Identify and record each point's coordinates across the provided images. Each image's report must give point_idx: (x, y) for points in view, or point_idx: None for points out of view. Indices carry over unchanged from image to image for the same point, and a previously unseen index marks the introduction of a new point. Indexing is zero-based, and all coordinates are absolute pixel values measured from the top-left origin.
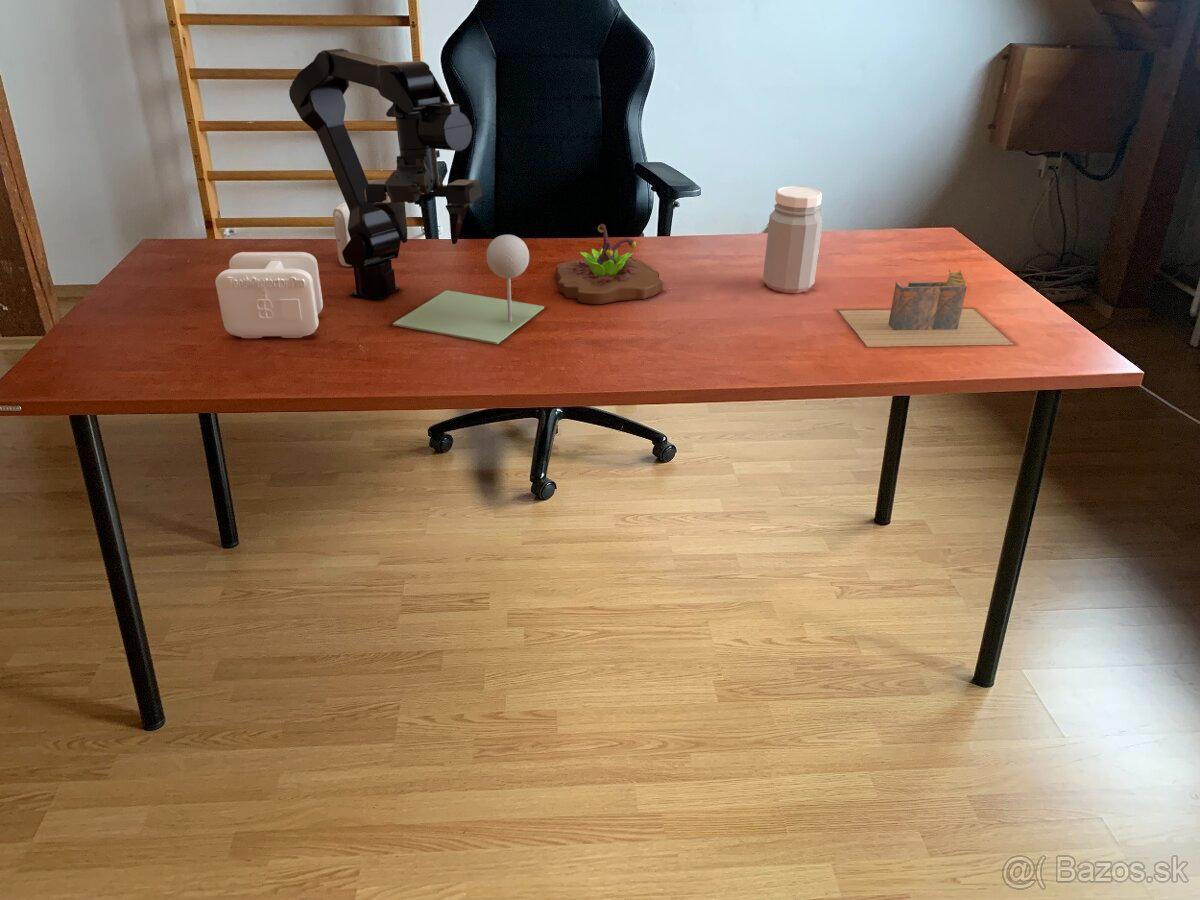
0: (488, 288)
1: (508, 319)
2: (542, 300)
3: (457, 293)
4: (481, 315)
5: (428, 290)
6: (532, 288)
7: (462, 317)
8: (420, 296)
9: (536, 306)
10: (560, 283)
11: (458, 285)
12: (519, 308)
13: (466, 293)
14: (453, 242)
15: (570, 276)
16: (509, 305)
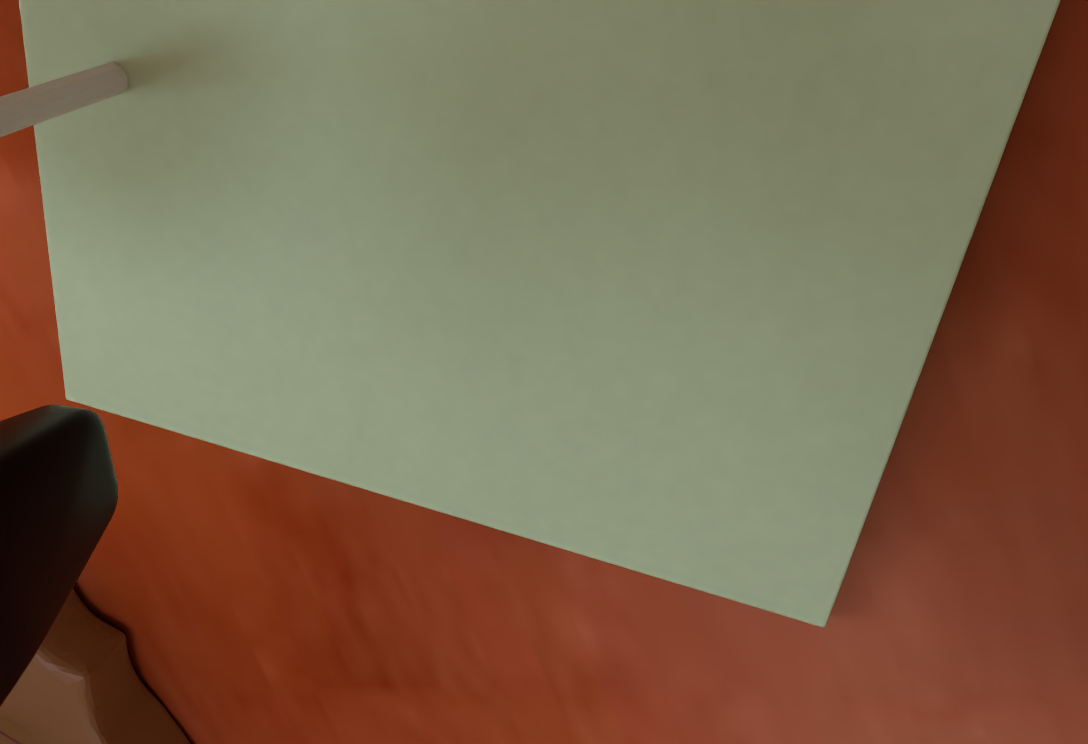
0: (546, 685)
1: (106, 69)
2: (150, 515)
3: (712, 567)
4: (357, 150)
5: (990, 645)
6: (290, 687)
7: (485, 72)
8: (1031, 524)
9: (101, 387)
10: (69, 663)
11: (773, 734)
12: (177, 337)
13: (644, 571)
14: (39, 412)
15: (46, 737)
16: (9, 97)
